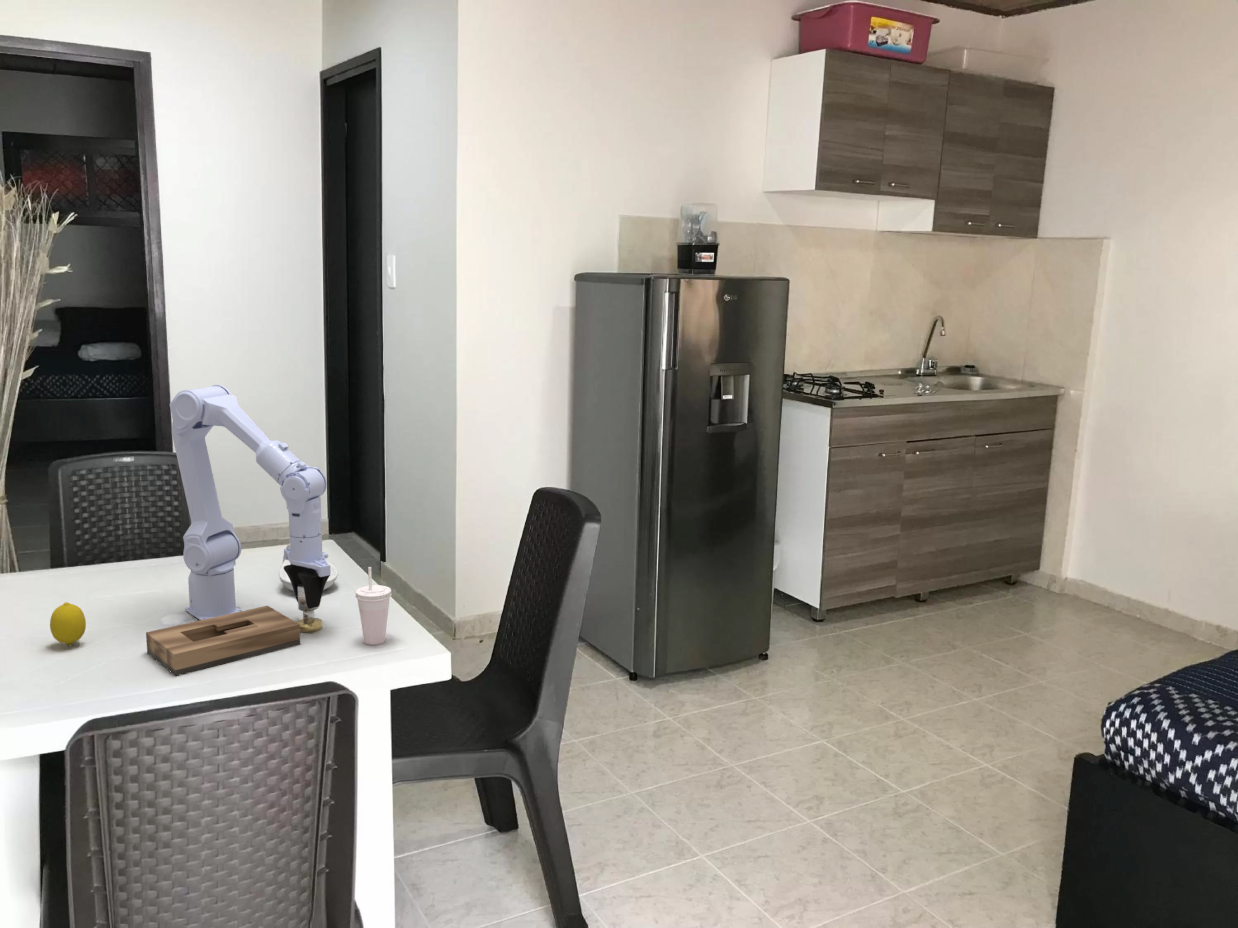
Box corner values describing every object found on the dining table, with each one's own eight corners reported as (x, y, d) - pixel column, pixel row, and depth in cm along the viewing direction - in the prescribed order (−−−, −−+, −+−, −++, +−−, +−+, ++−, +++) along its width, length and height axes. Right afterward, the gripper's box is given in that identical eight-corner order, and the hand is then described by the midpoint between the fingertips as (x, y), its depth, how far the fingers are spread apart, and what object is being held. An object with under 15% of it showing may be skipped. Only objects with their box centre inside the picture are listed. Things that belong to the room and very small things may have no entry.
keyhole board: (147, 652, 178) (145, 632, 177) (268, 624, 192) (267, 605, 192) (175, 675, 168) (174, 654, 168) (300, 644, 183) (299, 624, 182)
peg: (291, 627, 191) (289, 584, 190) (314, 621, 195) (313, 579, 193) (303, 634, 188) (301, 591, 186) (327, 628, 191) (325, 585, 190)
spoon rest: (344, 594, 211) (343, 561, 210) (286, 602, 206) (284, 568, 204) (318, 564, 231) (317, 533, 230) (264, 570, 226) (263, 539, 224)
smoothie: (359, 634, 189) (357, 562, 186) (394, 634, 189) (393, 562, 186) (353, 647, 182) (351, 572, 180) (390, 647, 183) (388, 572, 180)
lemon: (72, 652, 177) (68, 609, 175) (44, 649, 178) (40, 606, 176) (94, 641, 182) (91, 598, 180) (67, 638, 183) (63, 596, 182)
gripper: (344, 538, 185) (347, 609, 188) (307, 522, 195) (309, 590, 198) (308, 545, 180) (311, 618, 183) (272, 528, 191) (275, 597, 193)
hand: (308, 604), depth 190 cm, fingers closed on peg, 4 cm apart
